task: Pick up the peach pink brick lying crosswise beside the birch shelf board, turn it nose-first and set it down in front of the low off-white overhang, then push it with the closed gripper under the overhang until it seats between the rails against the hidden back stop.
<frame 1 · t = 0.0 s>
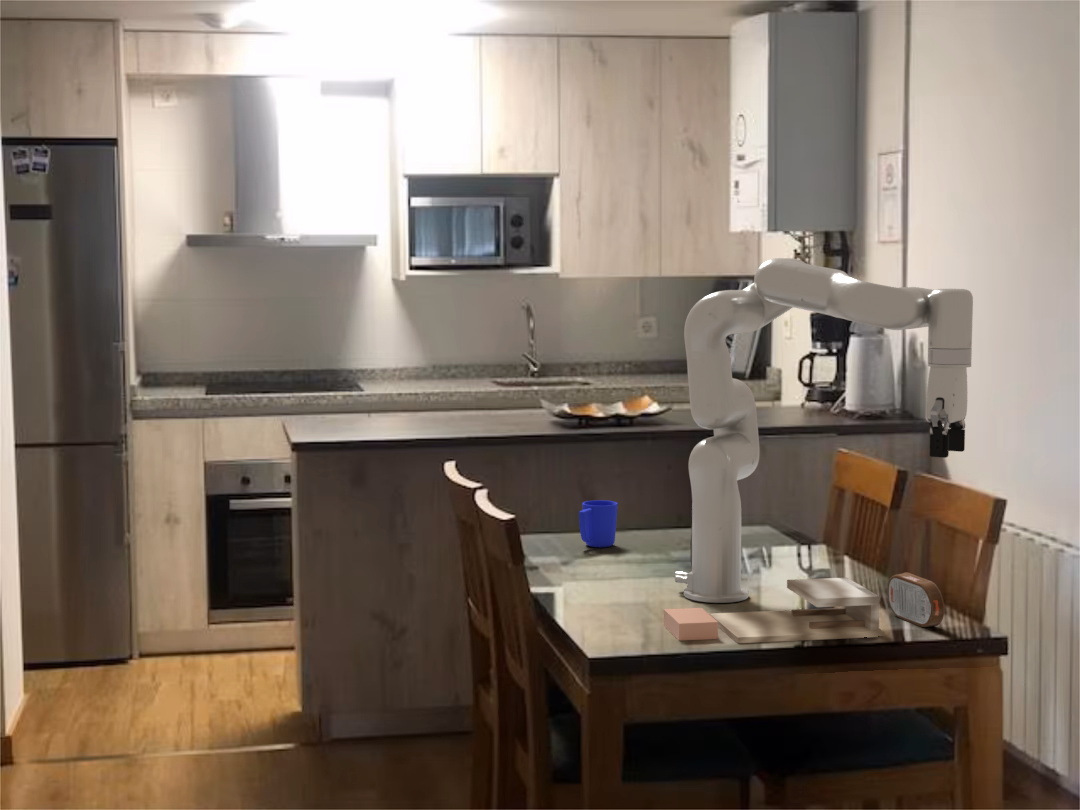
hand: (947, 453, 270), 31 cm above the table, tool pointing down, fingers open, 9 cm apart
tin: (913, 623, 276), on the table
shelf: (824, 626, 272), on the table
peach pink brick: (690, 632, 268), on the table
mug 2: (708, 571, 321), on the table
mug: (595, 547, 348), on the table
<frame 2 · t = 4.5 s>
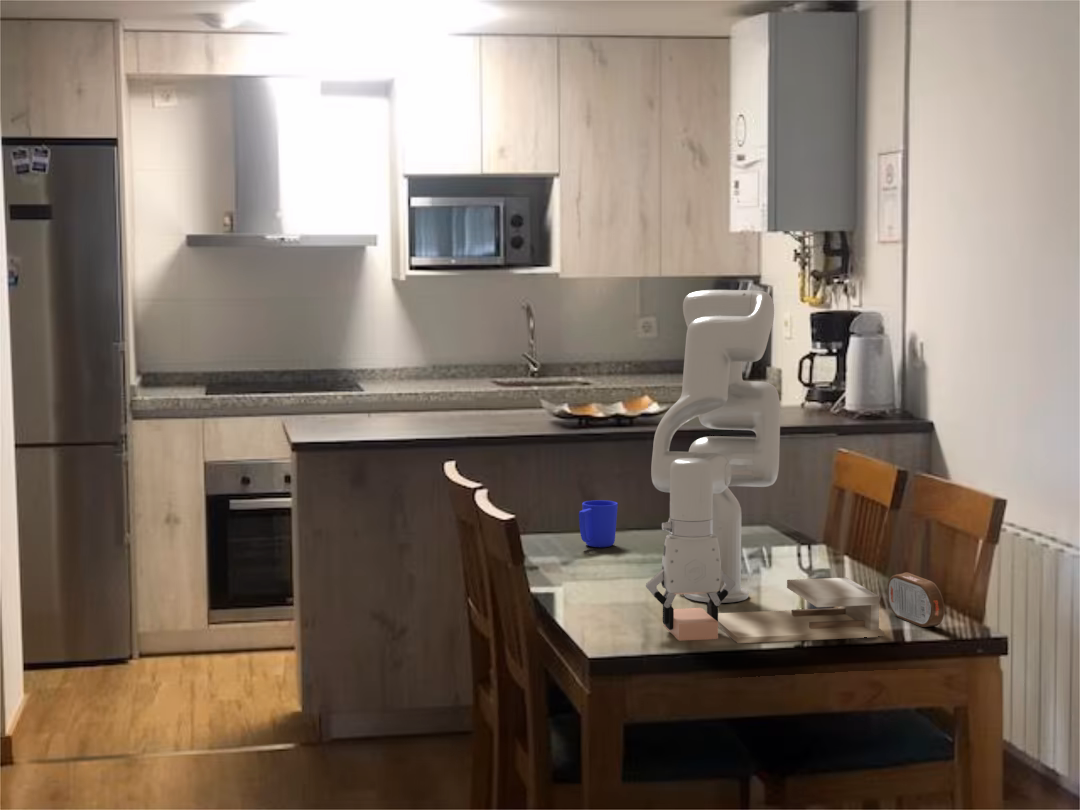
hand: (690, 626, 268), 1 cm above the table, tool pointing down, fingers closed on peach pink brick, 7 cm apart
peach pink brick: (690, 632, 268), on the table, touching gripper
everything else where it was.
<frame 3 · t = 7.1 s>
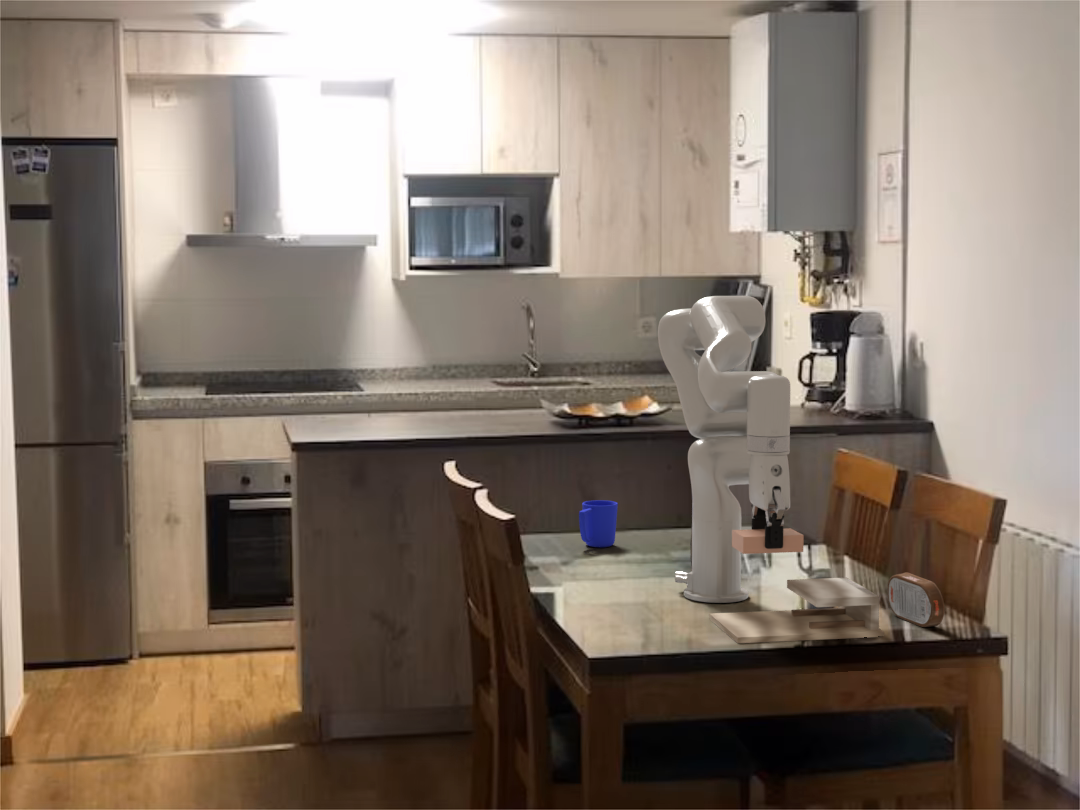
hand: (767, 543, 269), 16 cm above the table, tool pointing down, fingers closed on peach pink brick, 7 cm apart
peach pink brick: (767, 549, 269), point 14 cm above the table, touching gripper
everything else where it was.
when the fingers open (3 cm above the table, at t = 9.8 s): peach pink brick drops 1 cm, resting on shelf.
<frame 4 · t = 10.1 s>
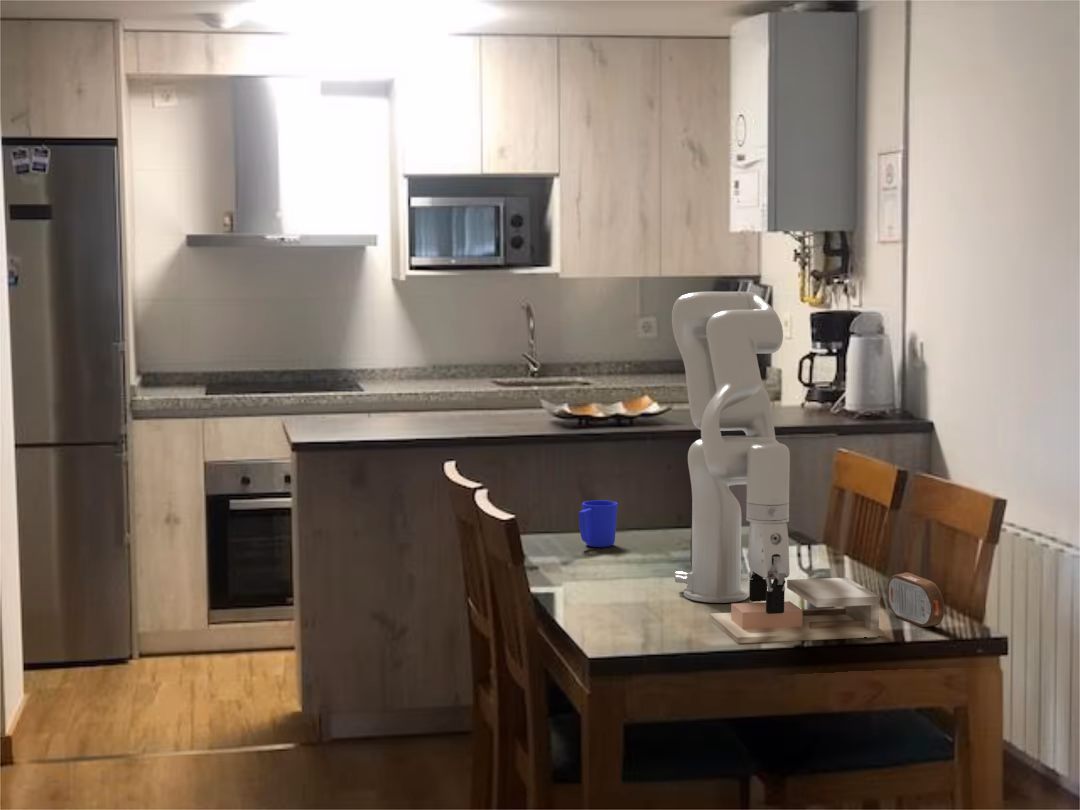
hand: (766, 606, 270), 4 cm above the table, tool pointing down, fingers open, 9 cm apart
peach pink brick: (766, 623, 270), point 1 cm above the table, touching shelf
everything else where it was.
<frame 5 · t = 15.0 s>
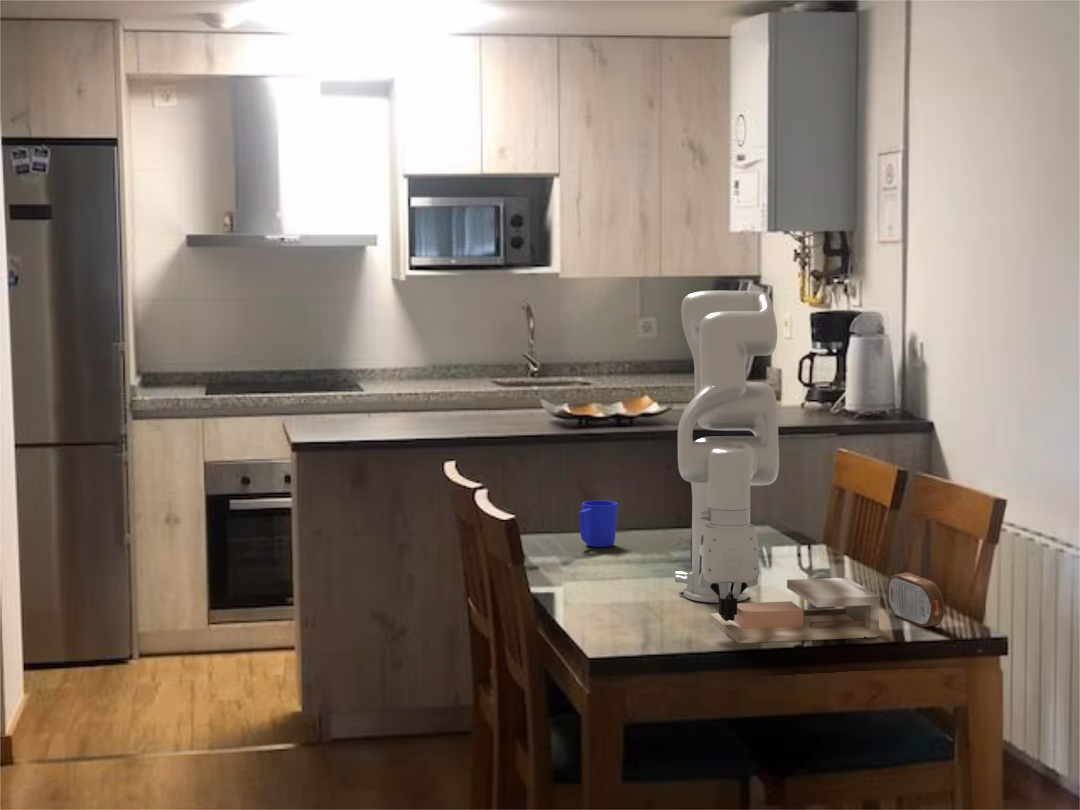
hand: (727, 618, 269), 2 cm above the table, tool pointing down, fingers closed
peach pink brick: (767, 623, 270), point 1 cm above the table, touching gripper, shelf
everything else where it was.
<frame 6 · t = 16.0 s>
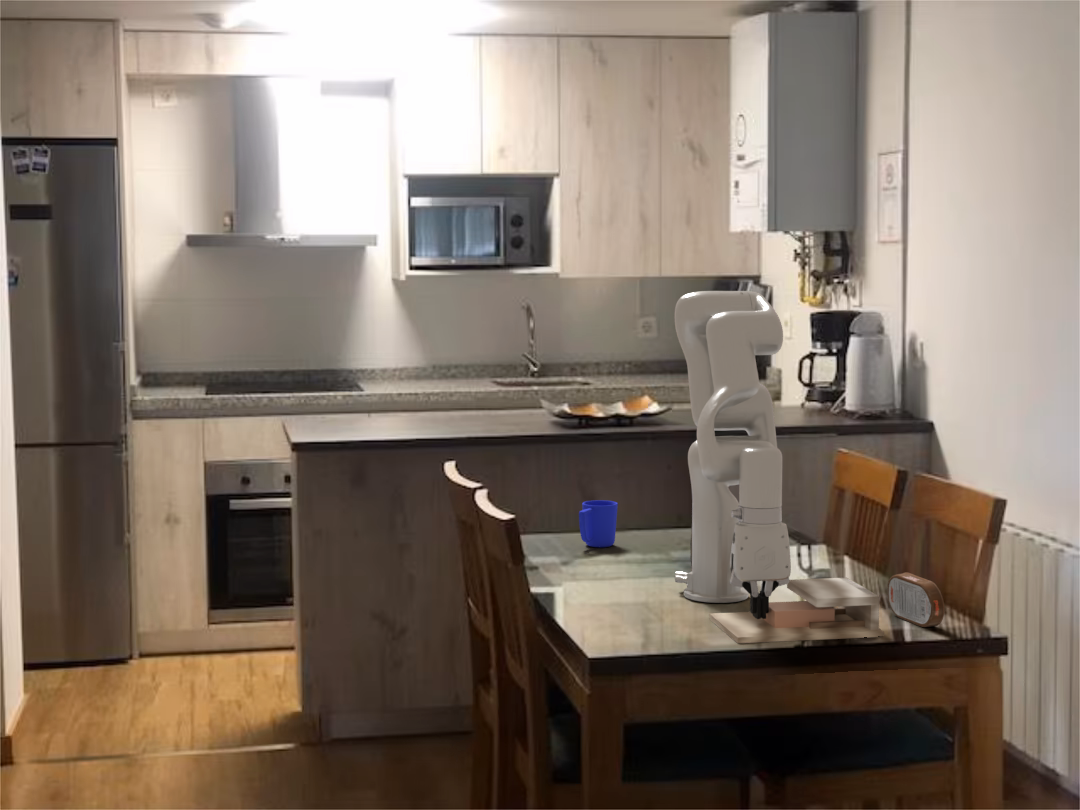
hand: (759, 617, 270), 2 cm above the table, tool pointing down, fingers closed
peach pink brick: (798, 622, 271), point 1 cm above the table, touching gripper
everything else where it was.
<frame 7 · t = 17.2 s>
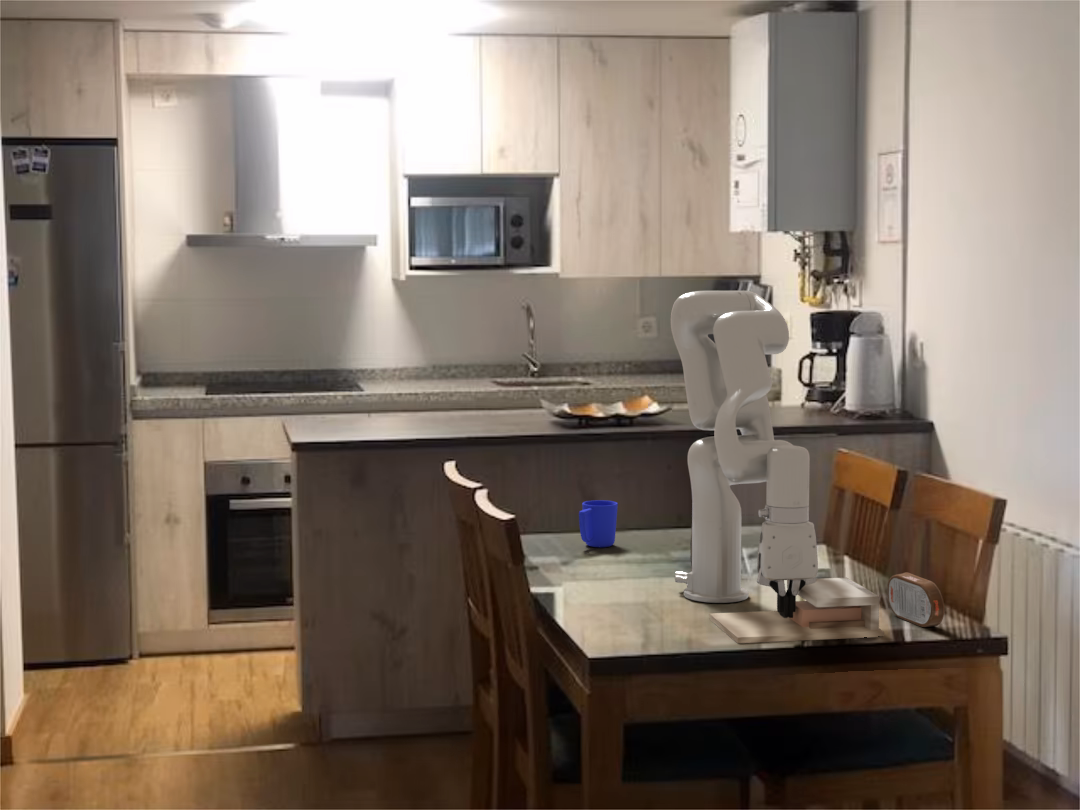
hand: (786, 616, 271), 2 cm above the table, tool pointing down, fingers closed
peach pink brick: (825, 621, 272), point 1 cm above the table, touching gripper, shelf
everything else where it was.
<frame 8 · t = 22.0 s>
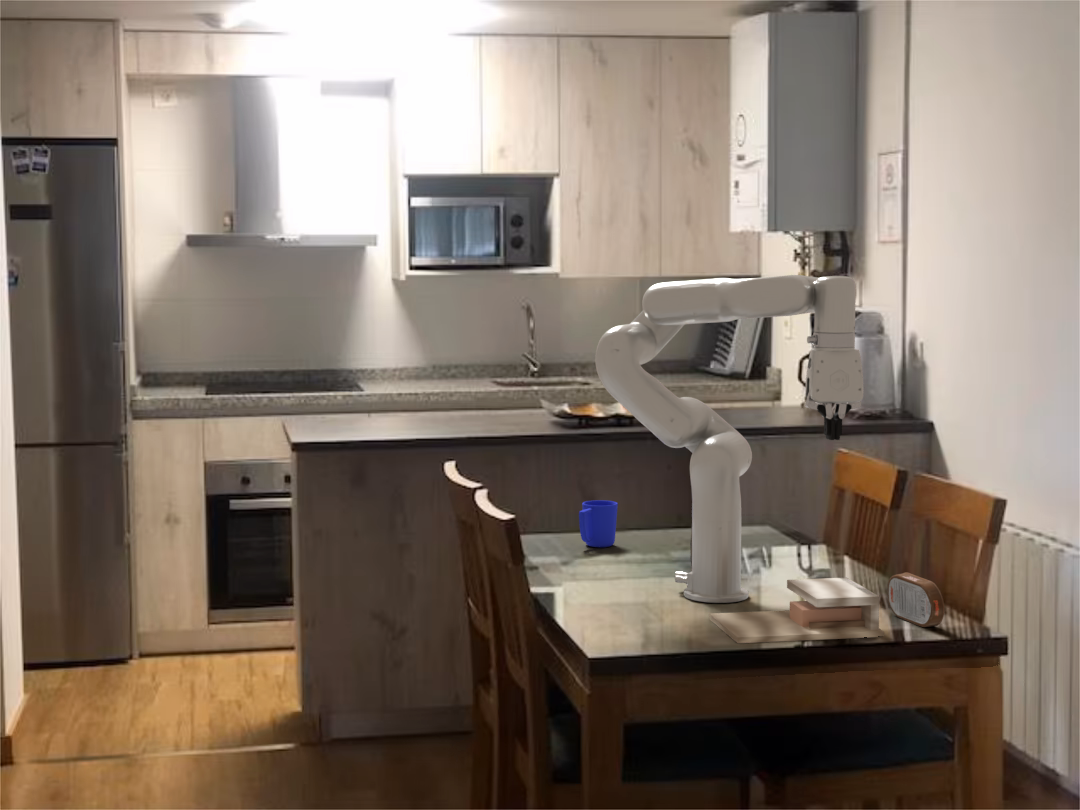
hand: (832, 439, 285), 32 cm above the table, tool pointing down, fingers closed
peach pink brick: (825, 621, 272), point 1 cm above the table, touching shelf
everything else where it was.
at the end: peach pink brick 0.1 cm off-centre on the shelf, point 1.0 cm above the shelf's base; peach pink brick tilted 0°; the gripper is holding nothing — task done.
